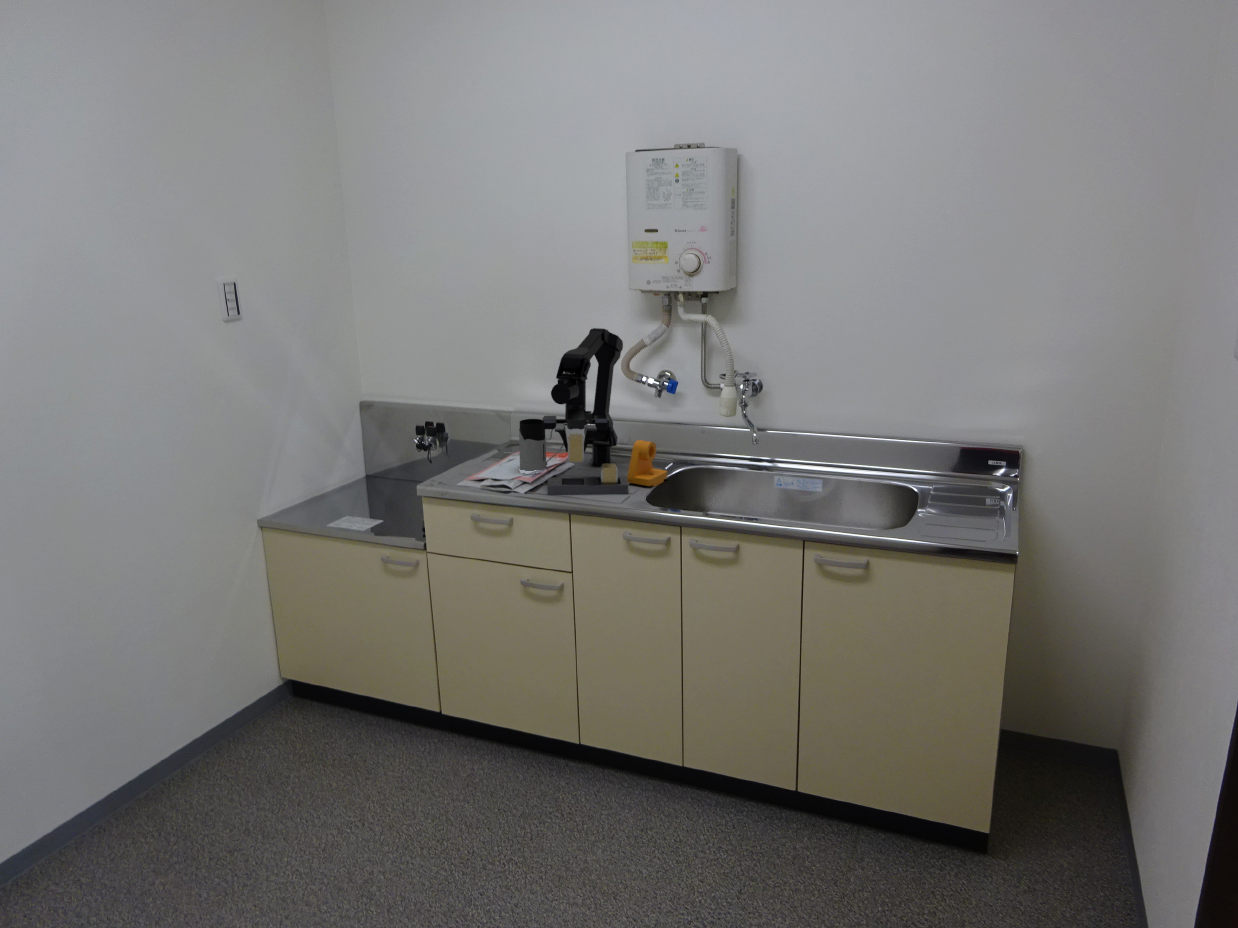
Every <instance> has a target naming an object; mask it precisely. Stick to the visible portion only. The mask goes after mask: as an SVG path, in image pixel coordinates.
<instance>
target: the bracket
mask: <svg viewBox="0 0 1238 928" xmlns="http://www.w3.org/2000/svg"><path fill="white" fill-rule="evenodd" d="M656 454H657V444H656V443H655V442H653V441H647V440H641V439H637V440H636V441H635V442H634V444H633V446H632V452H631V457H630V461H629V465H628V471H627V476H626V479H627V483H628V484H629V483H630V484H635V485H640V486H646V487H656V486H659V485H660V484H662V483H664V481H665V479H666V480H667V478H668V470H664V469H659V468H654V466H653V460H654V459H655V457H656Z"/></svg>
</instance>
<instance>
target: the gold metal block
mask: <svg viewBox="0 0 1238 928" xmlns="http://www.w3.org/2000/svg"><path fill="white" fill-rule="evenodd" d="M568 435H569V436H567V443H568V452H567V461H569V463H573V462H574V463H577V462H578V463H579V462H580V463H583V461H584V460H585V459H584V458H585V457H584V456H585V454H584V453H585V452H584V438H585V436H583V434H582V433H569V434H568Z"/></svg>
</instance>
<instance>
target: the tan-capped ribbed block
mask: <svg viewBox="0 0 1238 928" xmlns="http://www.w3.org/2000/svg"><path fill="white" fill-rule="evenodd" d="M618 474H619V471H618V465H616V463H612V464H602V466H600V477H601V485H603V484H618V477H619V475H618Z"/></svg>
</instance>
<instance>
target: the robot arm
mask: <svg viewBox="0 0 1238 928" xmlns="http://www.w3.org/2000/svg"><path fill="white" fill-rule="evenodd" d="M588 332H589V333H588V334H587V336H585V338H584V339H583V340H582V341H581V342H580V344H579V345H578V346H577V347H576V348H573V349H569V350H568V351H566V352H565V353H564V354H563V355H562V357H561V358H560V362H559V365H558V370H557V373H556V376H555V379H557V383H555V385H553V387H552V388H551V391H550V396H551V399H552V401H554V403H556V404H558V405H561V406H562V405H564V407H565V408H564V409H565V413H564V415H565V417H564V418H557V415H544V416H543V417H542V418H541V420H542V429H545V430H552V429H553V430H554V432H555V433H559V436H560V438H561V439H562V444H563V443H564V445H563V447H564V448H565V451H566V453H568V435H567V429H568V430H583V431H584V434H583V435H584V453H585V452H587V451H586V450H587V448H588V445H591V447H592V448H591V449H592V450H591V452H592V453H591V454H592V455H591V459H590V467H601V466H602V464H613V461H612V456H611V455H612V450H611V449H612V447H617V443H618V435H617V433H616V431H615V429H614V421H613V419H612V417H611V415H610V407H611V406H610V405H611V398H612V397H611V395H612V386H613V378H614V377H613V376H614V368H615V365H616V364H617V362H618V361H619V360H620V358H621V353H622V351H623V348H624V342H623V340H622V338H621V337H620V336H619V335H617V334H615V333H612V332H611V331H609V330H608V329H606V328H599V327H597V328H596V327H593V328H590V330H589V331H588ZM593 357H595V359H596V362H597V363H598V364H597V371H596V372H597V374H596V382H595V393H594V400H593V401H594V403H593V411H591V410H587V408H586V407H587V405H586V404H587V400H586V399H587V393H586V392H587V390H586V389H587V386H586V383H587V380H588V374H589V372H590V369H591V366H592V364H591V360H592V358H593ZM554 428H555V429H554ZM566 428H567V429H566Z"/></svg>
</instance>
